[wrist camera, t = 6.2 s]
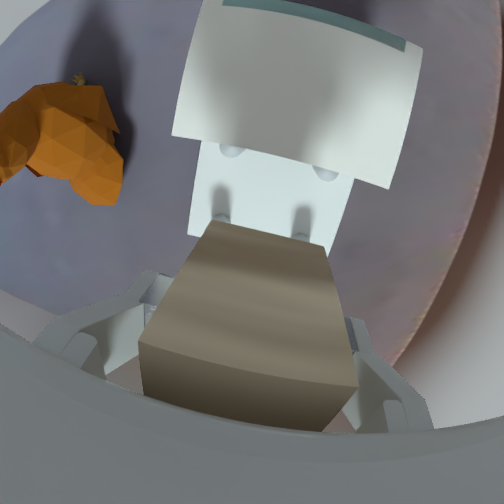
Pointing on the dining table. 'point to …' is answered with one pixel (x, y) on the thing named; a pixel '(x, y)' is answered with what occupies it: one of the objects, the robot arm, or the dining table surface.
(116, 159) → the toy
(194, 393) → the block
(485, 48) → the dining table surface
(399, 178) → the dining table surface
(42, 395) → the robot arm
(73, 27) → the dining table surface
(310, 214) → the white peg base plate
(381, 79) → the cover
